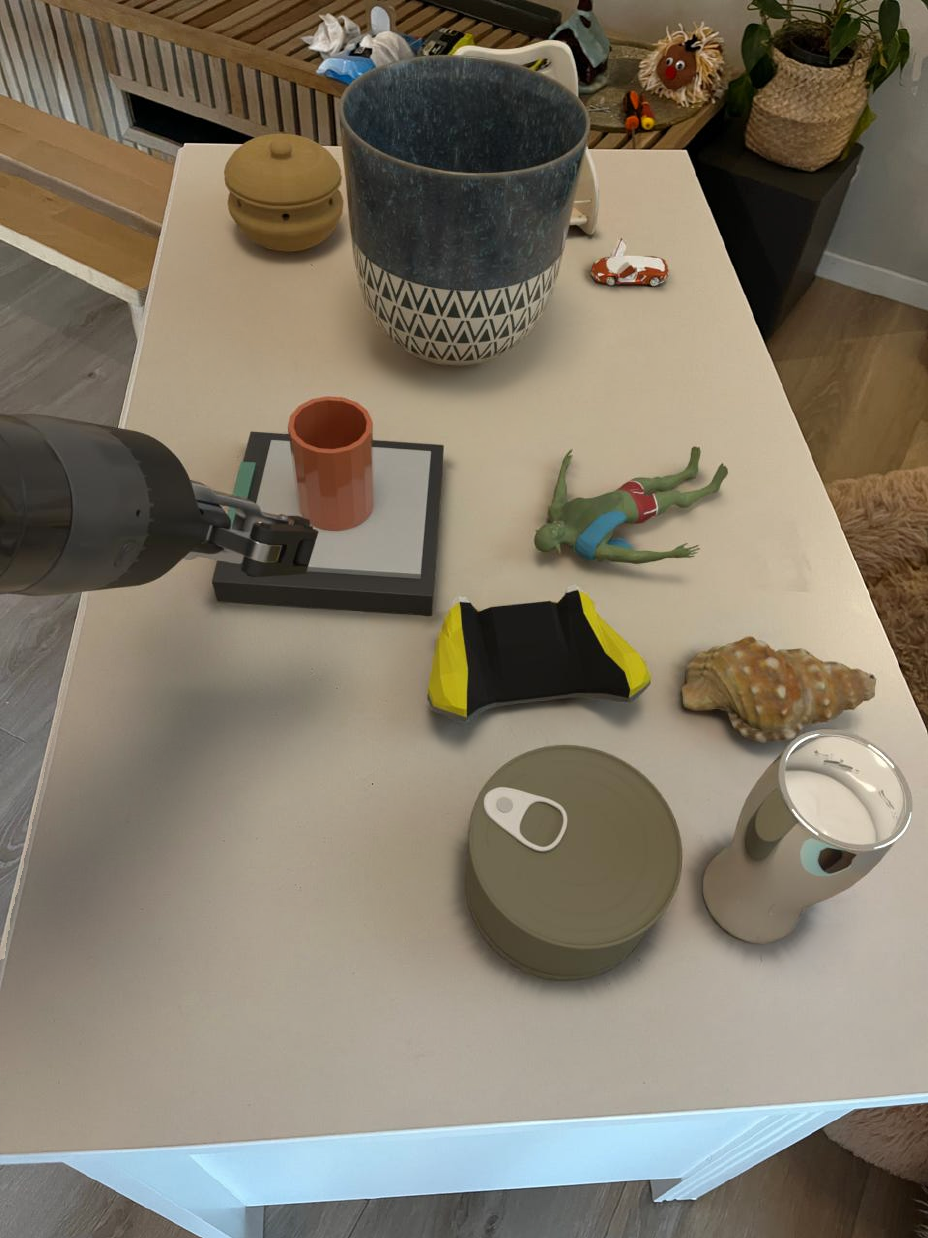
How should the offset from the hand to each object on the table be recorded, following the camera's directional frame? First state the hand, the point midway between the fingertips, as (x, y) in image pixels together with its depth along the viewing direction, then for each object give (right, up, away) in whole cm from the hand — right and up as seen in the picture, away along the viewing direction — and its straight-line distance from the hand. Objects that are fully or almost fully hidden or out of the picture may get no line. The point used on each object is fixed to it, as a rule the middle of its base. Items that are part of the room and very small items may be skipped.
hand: (238, 512), depth 56 cm
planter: (+13, +20, +32) cm, 40 cm away
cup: (+4, +2, +15) cm, 15 cm away
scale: (+4, +1, +17) cm, 18 cm away
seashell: (+35, -13, +10) cm, 39 cm away
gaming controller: (+18, -11, +10) cm, 23 cm away
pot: (-5, +34, +41) cm, 54 cm away
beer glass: (+32, -24, +1) cm, 40 cm away
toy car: (+31, +29, +41) cm, 59 cm away
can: (+20, -23, +1) cm, 30 cm away
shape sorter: (+17, +37, +46) cm, 62 cm away
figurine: (+27, +1, +20) cm, 33 cm away
